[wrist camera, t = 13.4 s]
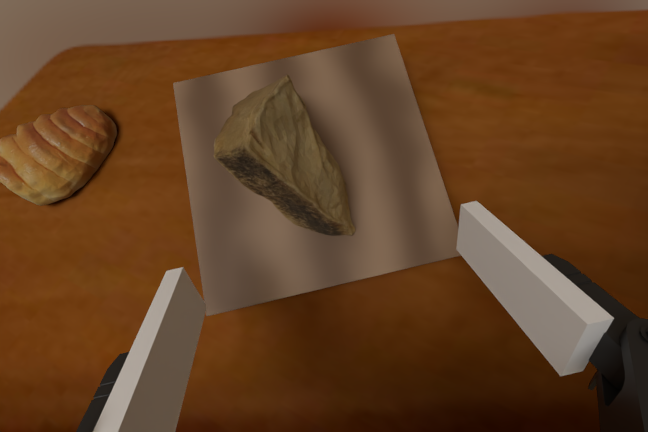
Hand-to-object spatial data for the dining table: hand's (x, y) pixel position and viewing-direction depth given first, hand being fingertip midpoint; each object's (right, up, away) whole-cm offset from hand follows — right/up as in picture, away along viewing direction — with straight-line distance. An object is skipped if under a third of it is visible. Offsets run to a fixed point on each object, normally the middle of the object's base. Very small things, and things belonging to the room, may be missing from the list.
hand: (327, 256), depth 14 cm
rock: (-1, +6, +8) cm, 10 cm away
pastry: (-23, +7, +13) cm, 28 cm away
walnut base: (-1, +5, +11) cm, 13 cm away
